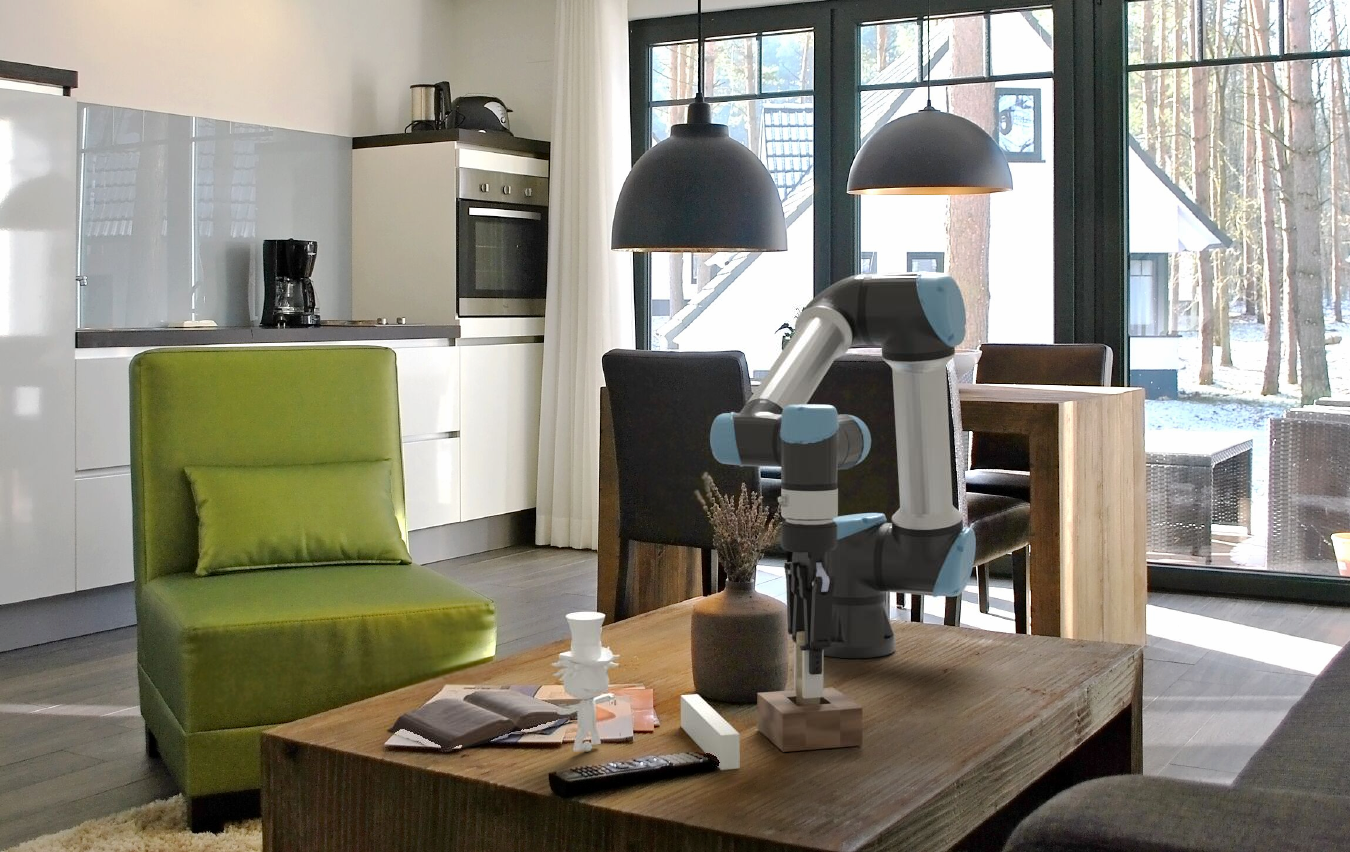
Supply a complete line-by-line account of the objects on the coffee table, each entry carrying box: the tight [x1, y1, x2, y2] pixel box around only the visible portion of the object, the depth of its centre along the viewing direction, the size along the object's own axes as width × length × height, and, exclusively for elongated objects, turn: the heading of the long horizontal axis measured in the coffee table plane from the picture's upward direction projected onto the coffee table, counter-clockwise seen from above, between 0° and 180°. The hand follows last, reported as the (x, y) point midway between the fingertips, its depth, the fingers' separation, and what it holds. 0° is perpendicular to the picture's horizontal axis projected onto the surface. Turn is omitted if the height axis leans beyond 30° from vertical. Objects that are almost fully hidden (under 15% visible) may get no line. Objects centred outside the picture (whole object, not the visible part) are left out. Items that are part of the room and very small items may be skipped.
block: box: [756, 686, 863, 753], centre depth 189 cm, size 11×11×5 cm
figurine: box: [550, 611, 621, 753], centre depth 183 cm, size 10×8×18 cm
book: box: [386, 689, 577, 753], centre depth 197 cm, size 20×28×4 cm
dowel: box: [796, 631, 820, 706], centre depth 189 cm, size 3×3×12 cm
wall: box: [680, 693, 741, 771], centre depth 186 cm, size 20×2×4 cm, turn 14°
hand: (808, 693), depth 189 cm, fingers closed on dowel, 3 cm apart
